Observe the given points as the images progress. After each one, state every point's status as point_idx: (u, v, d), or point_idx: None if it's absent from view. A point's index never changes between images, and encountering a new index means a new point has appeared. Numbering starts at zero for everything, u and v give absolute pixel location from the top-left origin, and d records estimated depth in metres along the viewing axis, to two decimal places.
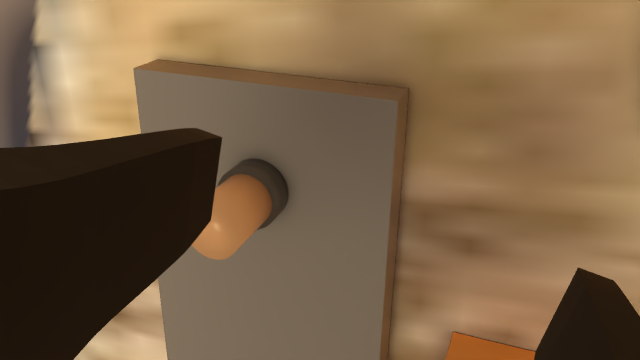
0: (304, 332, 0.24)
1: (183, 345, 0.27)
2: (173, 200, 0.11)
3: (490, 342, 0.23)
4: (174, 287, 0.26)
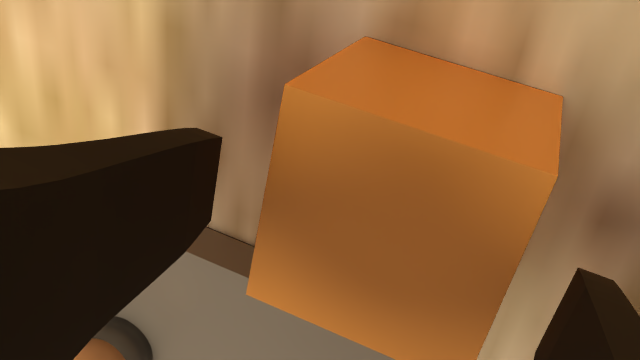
0: None
1: None
2: (173, 200, 0.11)
3: None
4: None
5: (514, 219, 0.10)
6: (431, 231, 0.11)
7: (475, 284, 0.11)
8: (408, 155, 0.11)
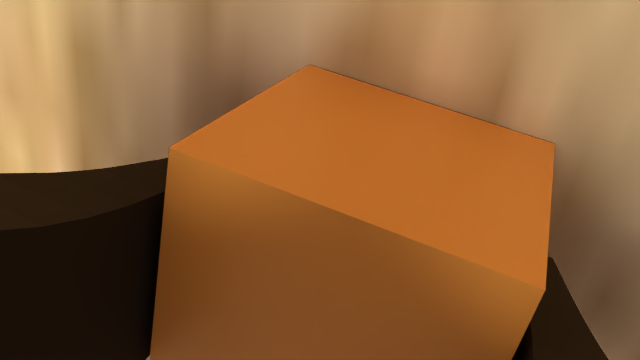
0: None
1: None
2: None
3: None
4: None
5: (486, 341, 0.07)
6: (373, 348, 0.08)
7: None
8: (337, 249, 0.08)
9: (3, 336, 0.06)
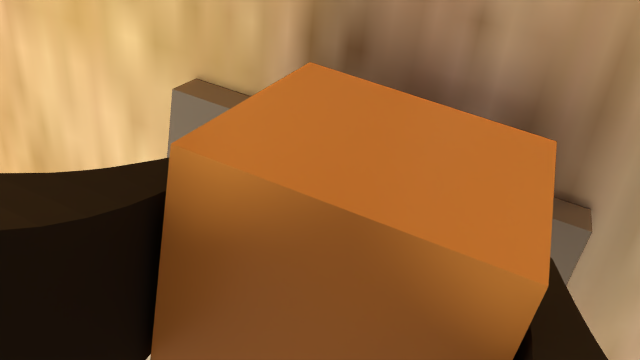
0: None
1: None
2: None
3: None
4: None
5: (488, 339, 0.07)
6: (375, 345, 0.08)
7: None
8: (339, 245, 0.08)
9: (3, 336, 0.06)
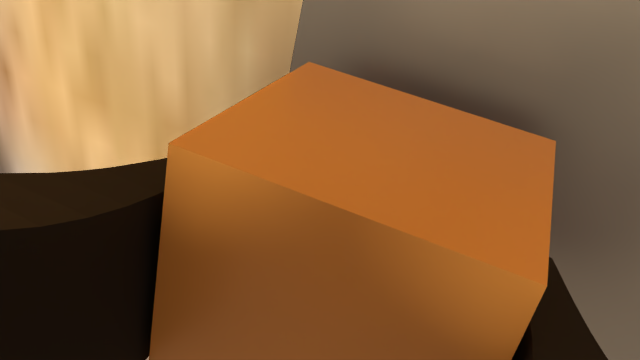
0: None
1: None
2: None
3: None
4: None
5: (487, 338, 0.07)
6: (373, 345, 0.08)
7: None
8: (338, 245, 0.08)
9: (3, 336, 0.06)
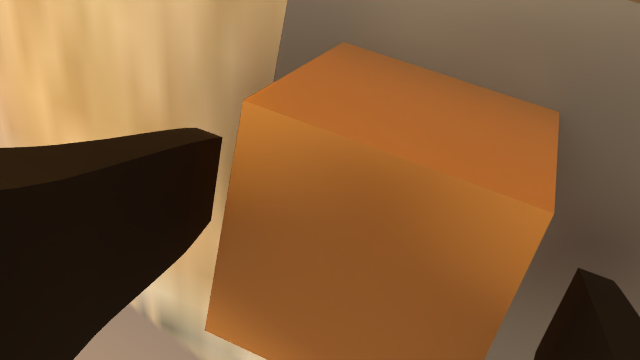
0: None
1: None
2: (173, 200, 0.11)
3: None
4: None
5: (504, 259, 0.09)
6: (409, 269, 0.10)
7: (458, 329, 0.10)
8: (383, 184, 0.09)
9: None
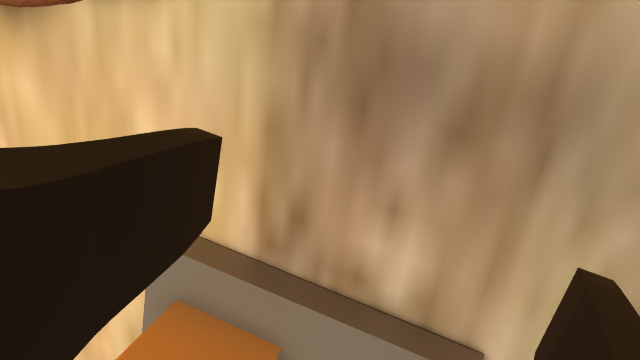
0: None
1: None
2: (173, 200, 0.11)
3: None
4: None
5: None
6: None
7: None
8: None
9: None
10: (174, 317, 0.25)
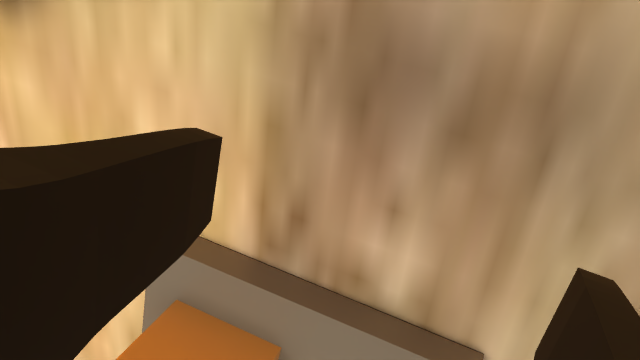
0: None
1: None
2: (173, 200, 0.11)
3: None
4: None
5: None
6: None
7: None
8: None
9: None
10: (174, 317, 0.25)
